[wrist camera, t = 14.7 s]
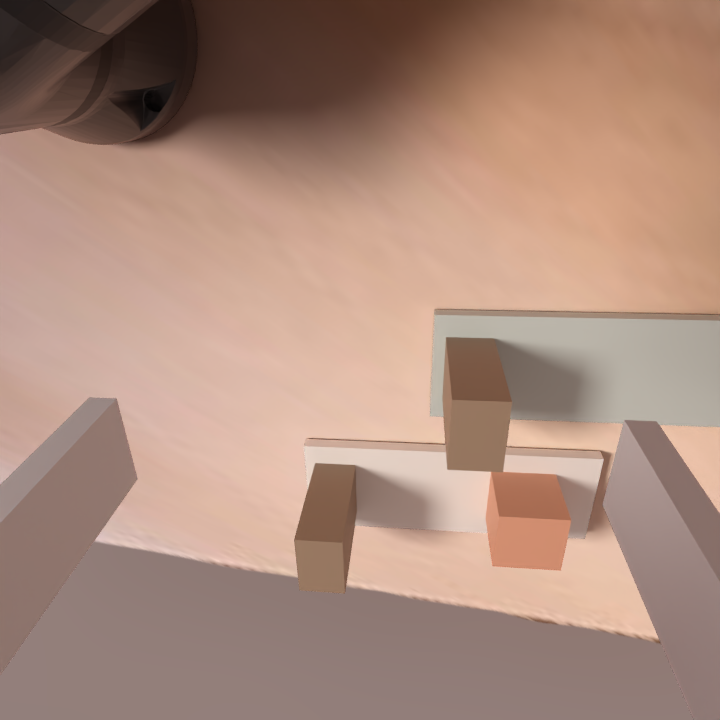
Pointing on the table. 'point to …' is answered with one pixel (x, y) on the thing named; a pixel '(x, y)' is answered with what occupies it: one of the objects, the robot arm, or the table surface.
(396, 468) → the cube strip
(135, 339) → the table surface
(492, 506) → the cube
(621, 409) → the strip with upright block
